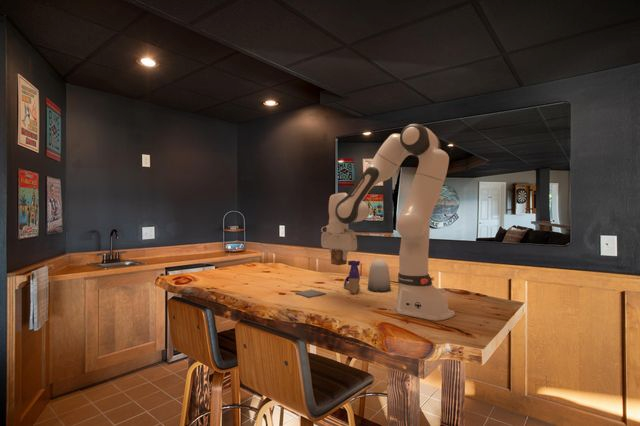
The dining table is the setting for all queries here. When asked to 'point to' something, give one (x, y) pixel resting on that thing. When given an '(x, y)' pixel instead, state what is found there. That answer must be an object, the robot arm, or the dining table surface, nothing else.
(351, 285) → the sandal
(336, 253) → the walnut block
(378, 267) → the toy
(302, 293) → the pad
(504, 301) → the dining table surface
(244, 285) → the dining table surface
